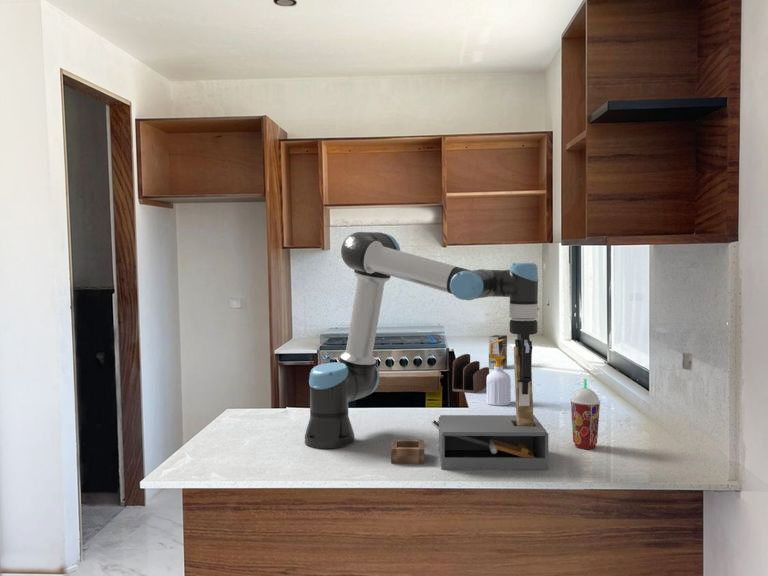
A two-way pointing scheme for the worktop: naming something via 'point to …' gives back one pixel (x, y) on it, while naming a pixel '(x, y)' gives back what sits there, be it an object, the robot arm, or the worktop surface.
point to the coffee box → (498, 349)
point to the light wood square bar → (523, 412)
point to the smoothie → (585, 417)
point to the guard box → (499, 430)
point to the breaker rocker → (500, 445)
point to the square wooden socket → (407, 452)
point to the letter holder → (468, 375)
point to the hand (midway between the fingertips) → (522, 403)
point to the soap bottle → (498, 382)
